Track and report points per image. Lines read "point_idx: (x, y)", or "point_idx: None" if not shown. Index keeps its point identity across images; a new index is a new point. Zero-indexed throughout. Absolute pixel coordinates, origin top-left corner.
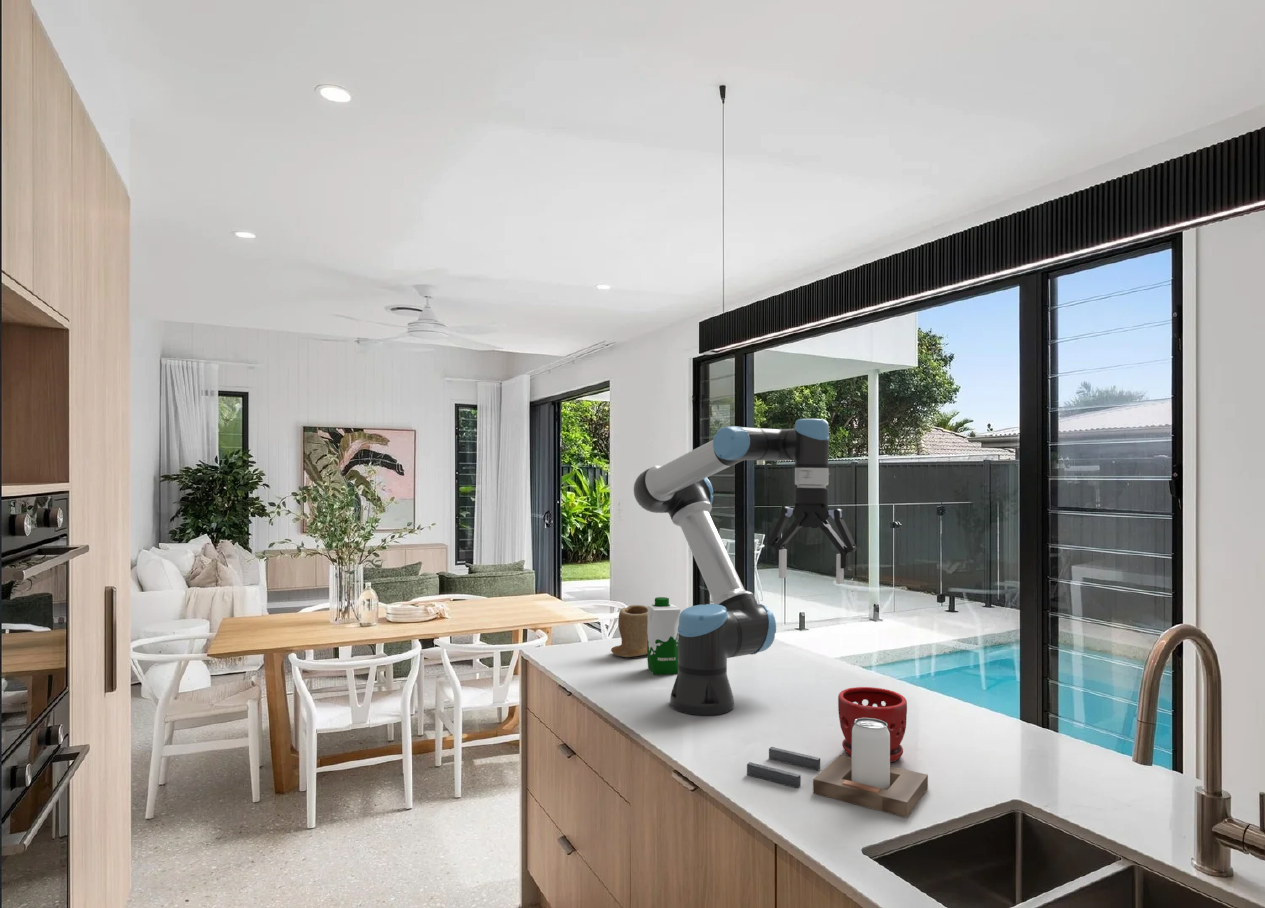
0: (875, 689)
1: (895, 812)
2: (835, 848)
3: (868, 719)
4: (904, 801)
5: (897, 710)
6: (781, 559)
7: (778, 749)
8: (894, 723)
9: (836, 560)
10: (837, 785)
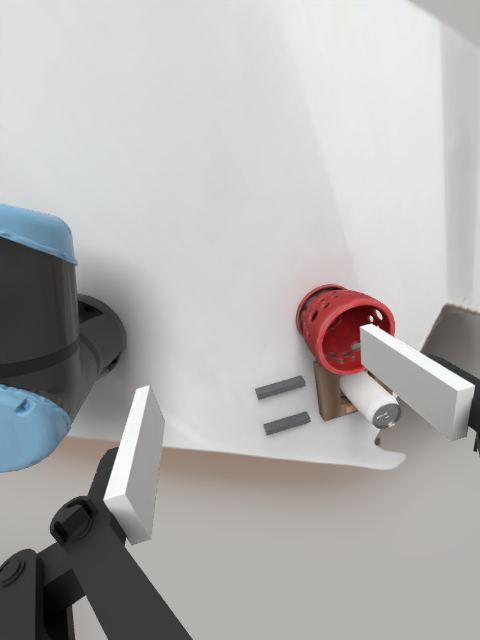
0: (349, 308)
1: None
2: (362, 452)
3: (380, 407)
4: None
5: None
6: (155, 488)
7: (265, 394)
8: None
9: (424, 418)
10: (343, 415)
